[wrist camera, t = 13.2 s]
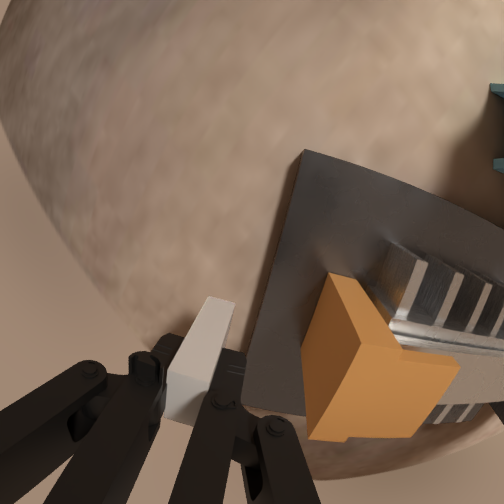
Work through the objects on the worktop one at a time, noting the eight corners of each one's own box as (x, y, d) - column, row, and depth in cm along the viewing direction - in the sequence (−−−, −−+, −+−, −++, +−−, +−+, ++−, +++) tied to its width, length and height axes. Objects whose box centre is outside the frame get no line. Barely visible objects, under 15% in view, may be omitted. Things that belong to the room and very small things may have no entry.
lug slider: (328, 272, 18) (361, 342, 10) (405, 292, 18) (466, 358, 10) (300, 348, 20) (307, 438, 12) (373, 361, 19) (406, 443, 11)
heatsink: (302, 150, 18) (321, 130, 10) (545, 257, 17) (597, 283, 9) (235, 390, 23) (218, 467, 15) (466, 412, 22) (493, 459, 14)
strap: (393, 314, 13) (404, 328, 12) (551, 344, 13) (560, 352, 12) (349, 398, 15) (354, 415, 14) (519, 398, 15) (527, 407, 13)
